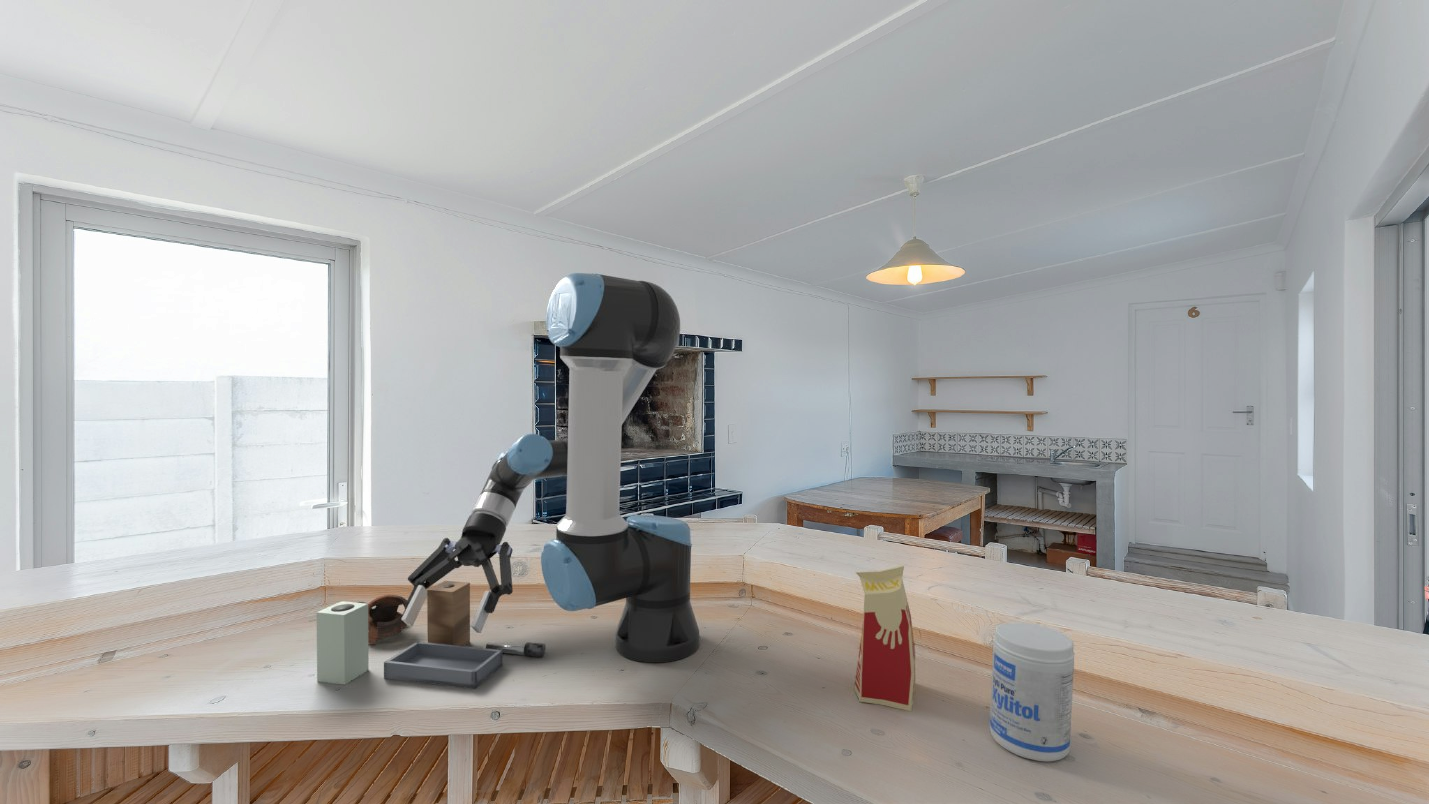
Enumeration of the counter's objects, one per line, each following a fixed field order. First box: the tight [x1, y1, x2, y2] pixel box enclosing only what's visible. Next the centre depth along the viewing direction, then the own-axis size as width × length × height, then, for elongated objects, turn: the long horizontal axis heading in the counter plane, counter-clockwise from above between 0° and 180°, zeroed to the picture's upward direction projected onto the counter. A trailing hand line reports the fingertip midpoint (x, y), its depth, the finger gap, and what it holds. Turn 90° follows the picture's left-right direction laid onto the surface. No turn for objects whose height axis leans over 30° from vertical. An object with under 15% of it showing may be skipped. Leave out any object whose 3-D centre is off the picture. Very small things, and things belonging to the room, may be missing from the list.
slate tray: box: [383, 641, 504, 690], centre depth 100 cm, size 16×8×3 cm, turn 79°
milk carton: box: [853, 565, 916, 712], centre depth 95 cm, size 9×9×20 cm
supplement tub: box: [989, 621, 1075, 763], centre depth 81 cm, size 10×10×15 cm
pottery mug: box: [355, 594, 409, 646], centre depth 114 cm, size 12×10×8 cm
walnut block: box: [426, 580, 471, 647], centre depth 109 cm, size 5×5×11 cm
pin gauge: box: [484, 641, 547, 658], centre depth 107 cm, size 10×2×2 cm, turn 79°
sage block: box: [316, 600, 370, 685], centre depth 98 cm, size 5×5×11 cm
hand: (440, 626), depth 107 cm, fingers open, 13 cm apart
